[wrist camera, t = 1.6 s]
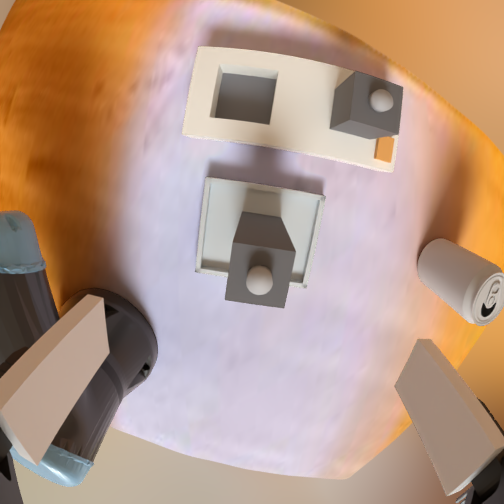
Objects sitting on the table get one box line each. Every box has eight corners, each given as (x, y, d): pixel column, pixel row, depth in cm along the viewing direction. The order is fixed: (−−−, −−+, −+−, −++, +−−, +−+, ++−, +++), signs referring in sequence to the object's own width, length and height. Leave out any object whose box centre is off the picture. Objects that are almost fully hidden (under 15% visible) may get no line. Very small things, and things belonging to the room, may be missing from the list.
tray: (197, 267, 32) (195, 272, 30) (208, 176, 29) (205, 177, 27) (304, 283, 32) (306, 288, 31) (322, 194, 29) (326, 196, 28)
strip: (191, 138, 28) (155, 124, 17) (205, 59, 25) (180, 13, 15) (377, 170, 28) (432, 177, 18) (387, 95, 26) (441, 71, 15)
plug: (236, 248, 31) (223, 306, 18) (242, 211, 29) (231, 246, 17) (274, 254, 31) (285, 315, 18) (281, 217, 29) (298, 256, 17)
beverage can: (409, 283, 32) (461, 332, 21) (420, 233, 30) (483, 267, 19) (445, 285, 32) (498, 328, 21) (456, 239, 30) (518, 270, 19)
